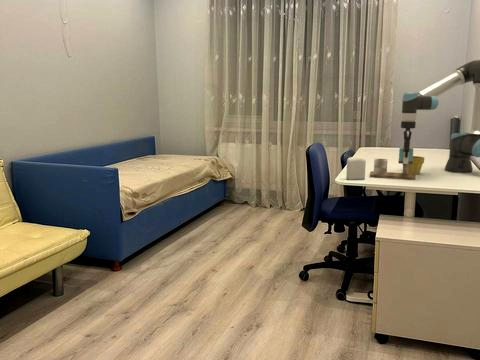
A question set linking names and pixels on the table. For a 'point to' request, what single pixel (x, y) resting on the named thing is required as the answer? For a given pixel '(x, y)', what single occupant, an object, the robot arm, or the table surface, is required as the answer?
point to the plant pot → (415, 165)
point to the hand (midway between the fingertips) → (405, 162)
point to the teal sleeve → (403, 155)
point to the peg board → (381, 172)
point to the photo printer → (356, 168)
